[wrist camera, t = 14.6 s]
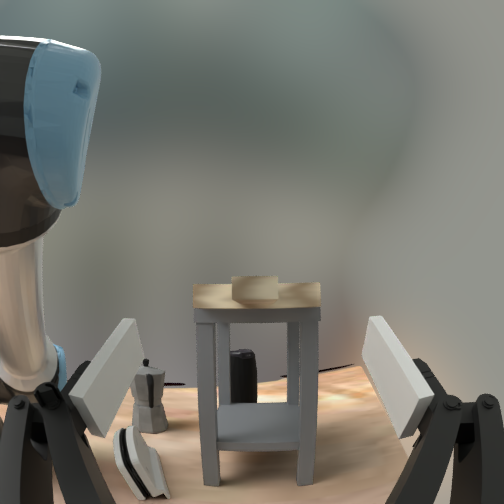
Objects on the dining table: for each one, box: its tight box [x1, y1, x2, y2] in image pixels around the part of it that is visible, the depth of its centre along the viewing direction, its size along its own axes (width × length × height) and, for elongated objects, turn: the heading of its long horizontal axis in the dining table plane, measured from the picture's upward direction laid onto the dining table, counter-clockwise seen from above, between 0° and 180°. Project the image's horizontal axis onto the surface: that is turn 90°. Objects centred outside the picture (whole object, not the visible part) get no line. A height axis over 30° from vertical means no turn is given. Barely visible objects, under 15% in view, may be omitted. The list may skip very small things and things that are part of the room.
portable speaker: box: [230, 349, 257, 403], centre depth 71 cm, size 9×9×20 cm
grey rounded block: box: [113, 425, 171, 500], centre depth 36 cm, size 17×5×10 cm, turn 23°
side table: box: [194, 307, 321, 486], centre depth 49 cm, size 18×24×30 cm
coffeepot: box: [130, 359, 168, 433], centre depth 59 cm, size 15×9×18 cm, turn 27°
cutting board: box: [193, 276, 321, 309], centre depth 40 cm, size 16×31×3 cm, turn 178°
